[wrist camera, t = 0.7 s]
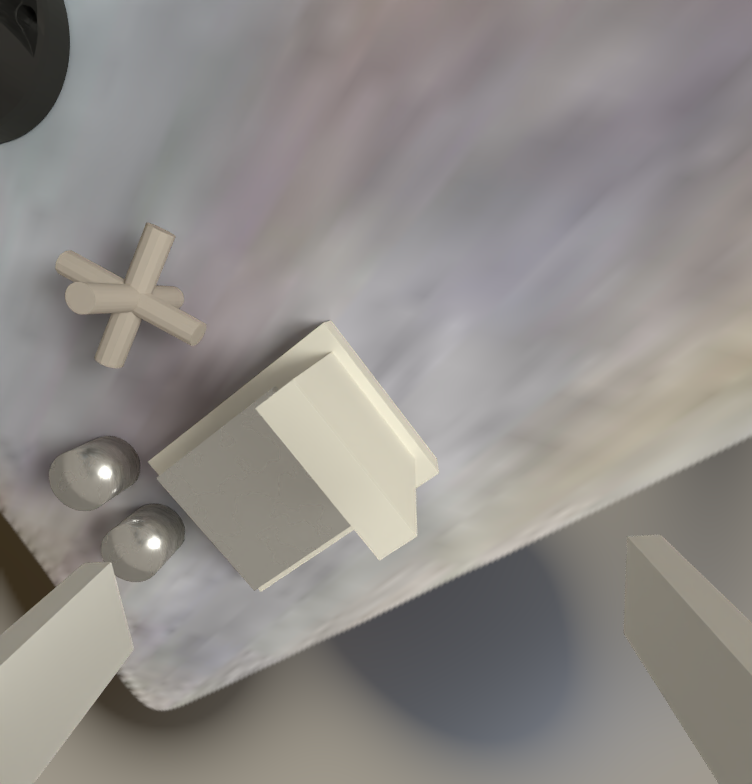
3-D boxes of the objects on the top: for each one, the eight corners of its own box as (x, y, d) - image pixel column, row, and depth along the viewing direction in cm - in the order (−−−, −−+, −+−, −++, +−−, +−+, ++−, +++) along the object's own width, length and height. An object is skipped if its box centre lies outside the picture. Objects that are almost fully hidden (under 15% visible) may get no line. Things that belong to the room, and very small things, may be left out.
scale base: (168, 449, 38) (29, 535, 24) (331, 320, 34) (278, 335, 21) (271, 569, 39) (198, 715, 26) (436, 458, 36) (453, 557, 22)
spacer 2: (120, 522, 39) (88, 547, 36) (159, 492, 39) (131, 514, 35) (157, 563, 40) (130, 592, 36) (196, 535, 39) (173, 561, 35)
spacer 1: (74, 456, 38) (36, 474, 35) (113, 424, 38) (78, 439, 34) (112, 499, 39) (79, 522, 35) (152, 469, 38) (122, 488, 34)
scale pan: (163, 472, 32) (156, 478, 31) (275, 385, 30) (271, 388, 29) (258, 582, 34) (254, 590, 33) (372, 506, 32) (370, 512, 31)
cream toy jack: (204, 382, 36) (128, 414, 26) (94, 323, 36) (-24, 333, 26) (255, 271, 34) (192, 260, 24) (138, 207, 33) (27, 170, 24)
